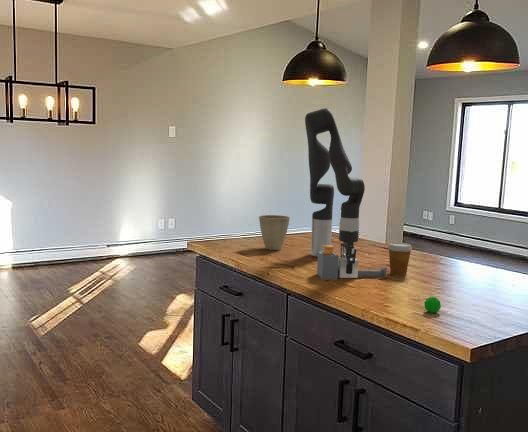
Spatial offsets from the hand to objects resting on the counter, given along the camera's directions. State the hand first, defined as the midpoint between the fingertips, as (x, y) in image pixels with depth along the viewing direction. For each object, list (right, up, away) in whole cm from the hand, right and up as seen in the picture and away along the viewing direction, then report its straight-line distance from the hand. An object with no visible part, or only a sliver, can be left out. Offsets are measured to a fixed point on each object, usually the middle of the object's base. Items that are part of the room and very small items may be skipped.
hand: (346, 271), depth 221 cm
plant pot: (-28, +5, +56) cm, 63 cm away
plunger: (-8, +6, -2) cm, 10 cm away
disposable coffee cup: (+22, -2, +9) cm, 24 cm away
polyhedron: (+20, -8, -45) cm, 50 cm away
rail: (+4, -2, +1) cm, 5 cm away
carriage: (0, -2, 0) cm, 2 cm away
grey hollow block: (-8, -2, -1) cm, 8 cm away
